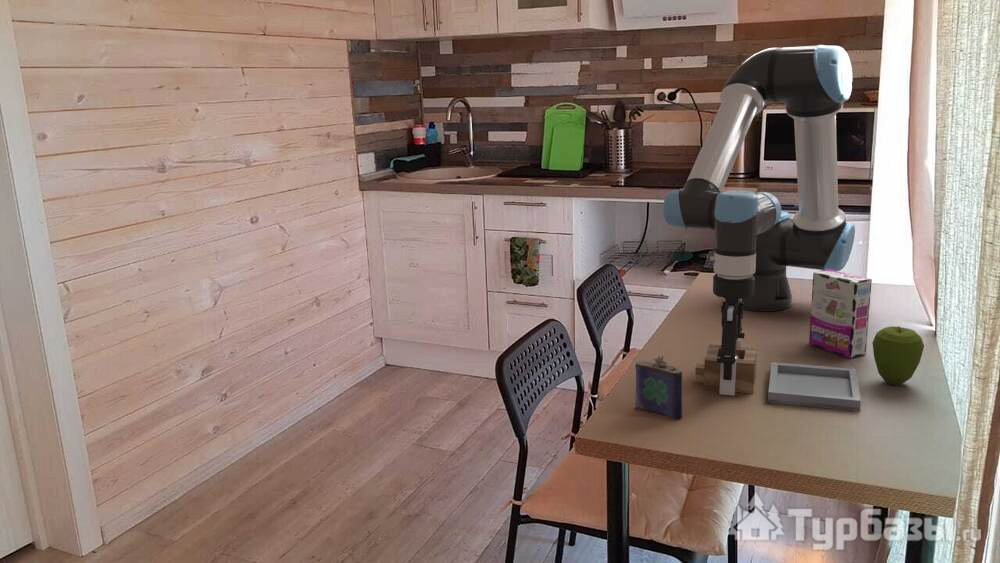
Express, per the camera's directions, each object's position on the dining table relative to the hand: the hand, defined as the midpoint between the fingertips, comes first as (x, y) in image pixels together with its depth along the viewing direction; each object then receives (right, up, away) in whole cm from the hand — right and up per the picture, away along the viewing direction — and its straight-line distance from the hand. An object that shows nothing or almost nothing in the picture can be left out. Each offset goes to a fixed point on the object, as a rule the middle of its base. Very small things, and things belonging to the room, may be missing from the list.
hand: (729, 381), depth 155 cm
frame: (0, 0, 0) cm, 0 cm away
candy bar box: (+27, +5, +15) cm, 31 cm away
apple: (+30, 0, -4) cm, 30 cm away
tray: (+14, -1, -5) cm, 15 cm away
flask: (-16, -4, -11) cm, 20 cm away
